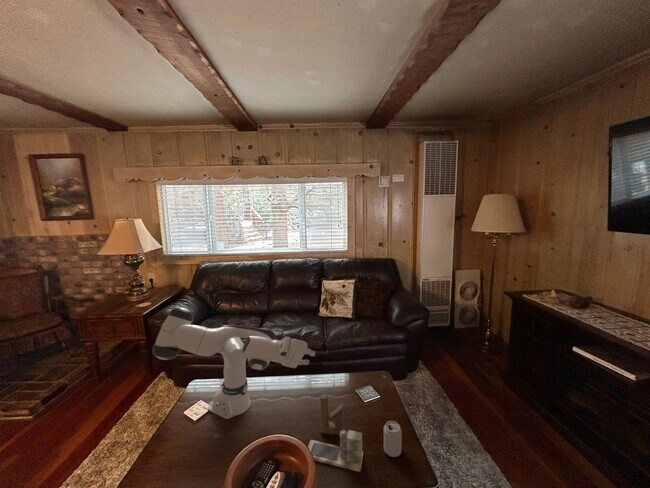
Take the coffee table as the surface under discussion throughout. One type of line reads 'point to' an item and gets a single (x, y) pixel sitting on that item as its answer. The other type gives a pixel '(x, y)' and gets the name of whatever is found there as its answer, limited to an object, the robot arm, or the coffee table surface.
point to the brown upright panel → (331, 418)
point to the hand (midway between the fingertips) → (311, 358)
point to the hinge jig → (340, 451)
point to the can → (392, 438)
